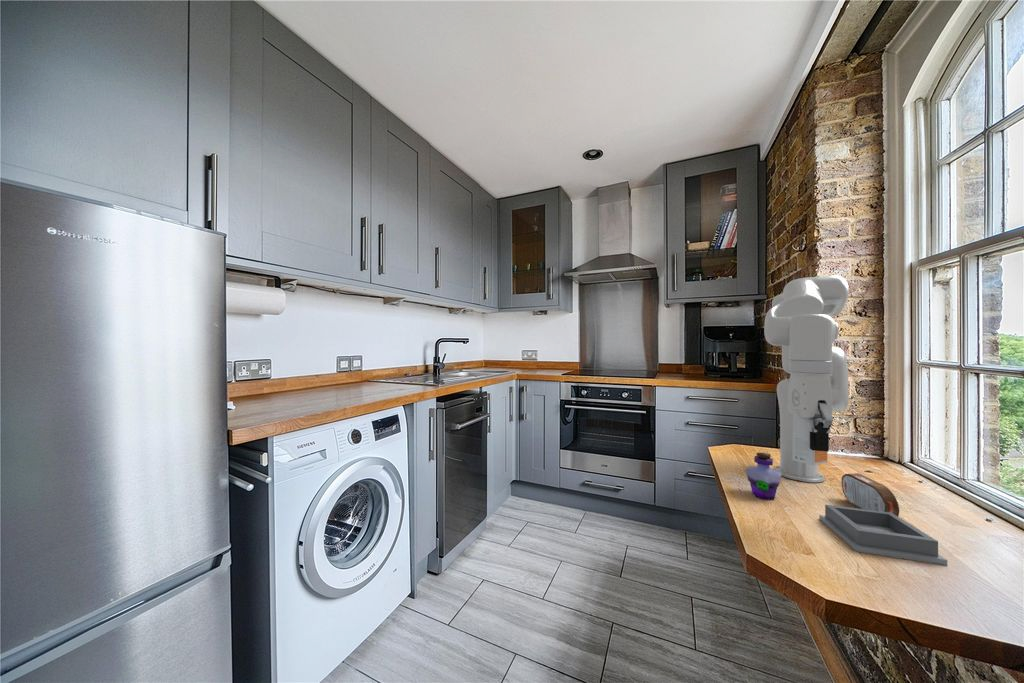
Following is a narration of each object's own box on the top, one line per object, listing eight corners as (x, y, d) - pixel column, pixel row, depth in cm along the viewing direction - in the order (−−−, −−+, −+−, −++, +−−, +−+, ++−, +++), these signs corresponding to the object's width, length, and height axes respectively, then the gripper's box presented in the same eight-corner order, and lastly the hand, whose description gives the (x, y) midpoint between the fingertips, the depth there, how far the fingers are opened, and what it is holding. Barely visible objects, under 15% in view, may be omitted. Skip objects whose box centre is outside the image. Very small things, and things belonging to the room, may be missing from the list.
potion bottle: (750, 500, 95) (750, 456, 95) (741, 487, 103) (741, 447, 103) (788, 505, 92) (788, 459, 92) (775, 492, 100) (775, 450, 100)
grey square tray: (819, 519, 84) (819, 502, 84) (893, 528, 80) (893, 511, 80) (856, 551, 71) (856, 531, 71) (947, 565, 67) (947, 544, 67)
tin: (901, 527, 81) (900, 491, 81) (885, 525, 81) (884, 490, 82) (852, 499, 96) (851, 468, 96) (838, 498, 96) (838, 468, 96)
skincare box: (813, 466, 76) (813, 412, 76) (791, 460, 80) (791, 408, 80) (829, 462, 79) (828, 410, 79) (806, 457, 83) (806, 407, 83)
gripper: (775, 365, 89) (775, 434, 89) (809, 370, 73) (809, 455, 72) (810, 366, 87) (810, 437, 87) (854, 371, 70) (854, 459, 70)
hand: (810, 445), depth 79 cm, fingers closed on skincare box, 6 cm apart
